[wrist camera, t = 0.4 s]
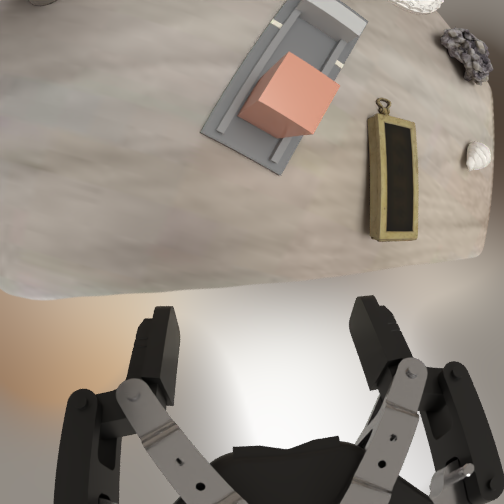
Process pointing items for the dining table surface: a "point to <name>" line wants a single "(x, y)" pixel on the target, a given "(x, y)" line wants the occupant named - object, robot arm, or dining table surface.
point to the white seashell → (477, 156)
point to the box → (393, 177)
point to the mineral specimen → (468, 53)
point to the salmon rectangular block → (289, 98)
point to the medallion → (418, 5)
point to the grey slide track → (268, 54)
